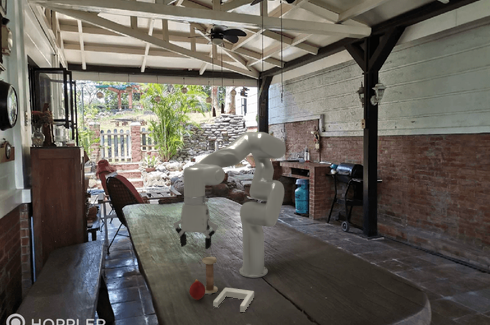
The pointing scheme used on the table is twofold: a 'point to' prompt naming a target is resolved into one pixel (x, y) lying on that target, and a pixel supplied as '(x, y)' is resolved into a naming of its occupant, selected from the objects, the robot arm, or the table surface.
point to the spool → (210, 274)
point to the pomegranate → (197, 290)
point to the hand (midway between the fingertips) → (195, 246)
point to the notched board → (235, 293)
